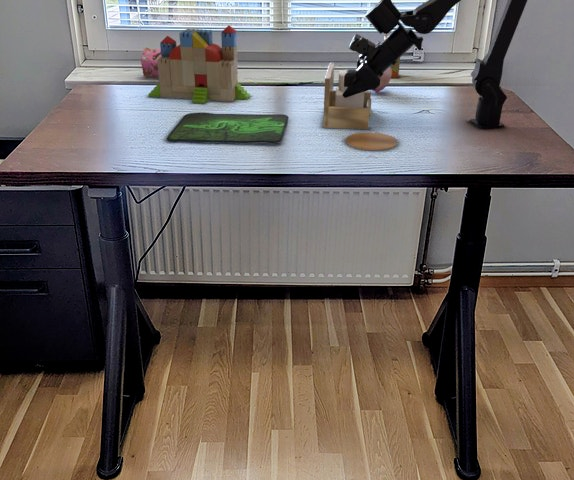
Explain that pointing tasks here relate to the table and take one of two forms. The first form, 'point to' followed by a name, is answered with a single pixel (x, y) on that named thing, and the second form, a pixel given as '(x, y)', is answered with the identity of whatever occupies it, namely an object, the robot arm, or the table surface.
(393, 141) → the cork coaster
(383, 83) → the decorative fruit
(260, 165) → the table surface
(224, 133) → the mouse mat
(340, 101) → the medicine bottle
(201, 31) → the block set
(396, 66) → the shoe polish box
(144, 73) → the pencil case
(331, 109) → the spice rack
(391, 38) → the robot arm
